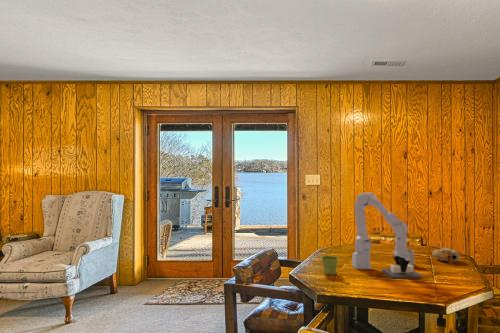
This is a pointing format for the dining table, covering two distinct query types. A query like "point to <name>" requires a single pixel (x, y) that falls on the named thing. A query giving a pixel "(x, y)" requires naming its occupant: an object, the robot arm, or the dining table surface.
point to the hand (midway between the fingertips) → (401, 270)
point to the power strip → (397, 269)
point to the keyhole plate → (401, 274)
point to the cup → (411, 256)
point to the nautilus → (446, 255)
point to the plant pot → (329, 264)
